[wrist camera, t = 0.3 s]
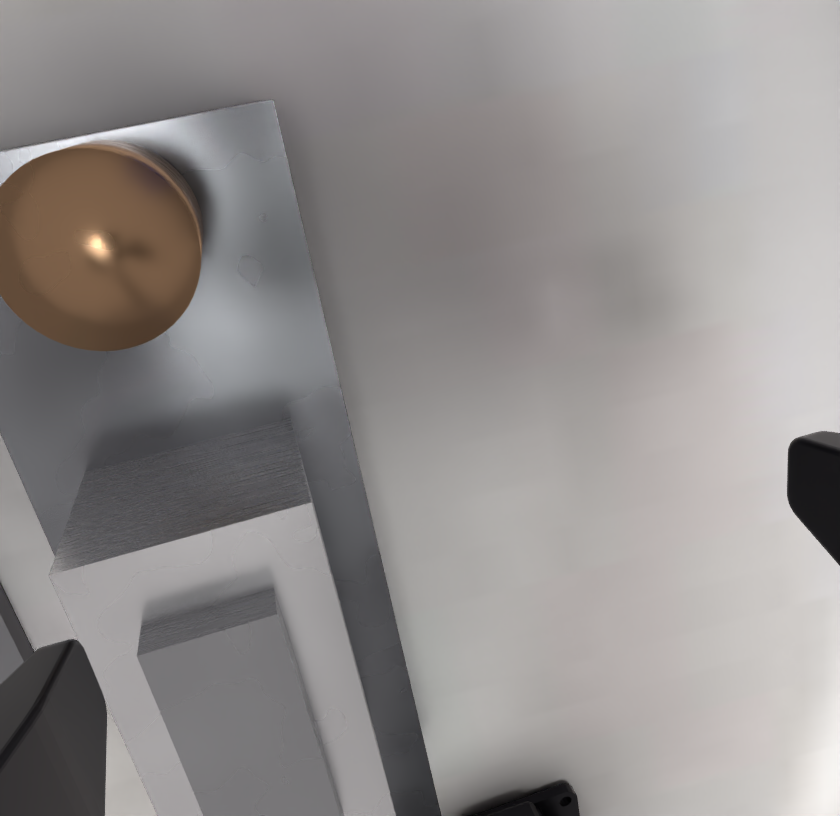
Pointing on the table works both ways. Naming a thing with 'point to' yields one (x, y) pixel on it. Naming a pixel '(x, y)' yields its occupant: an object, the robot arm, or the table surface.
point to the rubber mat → (11, 640)
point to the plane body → (187, 347)
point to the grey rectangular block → (221, 631)
